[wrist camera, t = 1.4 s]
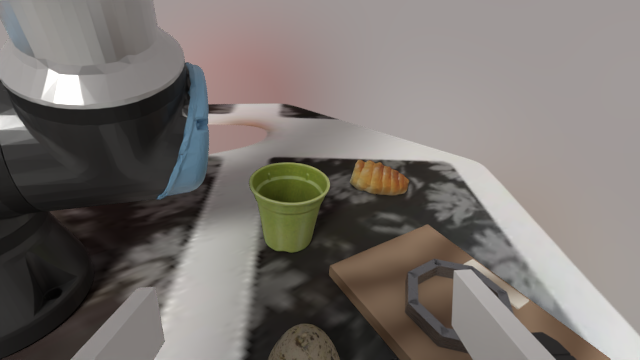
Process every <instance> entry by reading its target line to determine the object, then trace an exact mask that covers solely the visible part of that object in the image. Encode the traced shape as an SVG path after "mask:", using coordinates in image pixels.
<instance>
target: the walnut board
mask: <svg viewBox="0 0 640 360" xmlns="http://www.w3.org/2000/svg"><path fill="white" fill-rule="evenodd" d="M433 259H438V260H443V261H449V262H454V263H459V264H464V265H469V266H473V267H474V268H476V269H477V270H478V271H480V272H481V273H482V274H484V275H485V276H486V277H488V278H489V279H490V280H492V281H493V282H494V283H495V284H497V285H498V286H499V287H501V288H502V289H503V290H505V291H506V292H507V294H508V297H509V300H510V303H511V306H512V310H513V313H514V316H515V317H516V318H517V319H518V320H519V321H520V322H521V323H522V324H523V325H524V326H525V327H526V328H527V329H528V330H529V332H530V333H534V332H543V333H545V334H547V335H548V336H550V337H552V338H553V339H555V340H557V341H558V342H559V343H560V344H561V345H562V346H563V347H564V348H565V349H567V350H568V351H569V352H570V354H571V356H574V357H575V358H576V359H577V360H611V359H610V358H609V357H607V356H606V355H605V354H603V353H602V352H600V351H599V350H598V349H596V348H595V347H594V346H592V345H591V344H590V343H588V342H587V341H585V340H584V339H583V338H581V337H580V336H579V335H577V334H576V333H575V332H573V331H572V330H571V329H569V328H568V327H566V326H565V325H564V324H562V323H561V322H560V321H558V320H557V319H556V318H554V317H553V316H551V315H550V314H549V313H547V312H546V311H545V310H543V309H542V308H541V307H539V306H538V305H536V304H535V303H534V302H532V301H531V300H530V299H528V298H527V297H526V296H524V295H523V294H522V293H520V292H519V291H517V290H516V289H515V288H513V287H512V286H511V285H509V284H508V283H507V282H505V281H504V280H502V279H501V278H500V277H498V276H497V275H496V274H494V273H493V272H492V271H490V270H489V269H488V268H486V267H485V266H483V265H482V264H481V263H479V262H478V261H477V260H475V259H474V258H473V257H471V256H470V255H468V254H467V253H466V252H464V251H463V250H462V249H460V248H459V247H458V246H456V245H455V244H453V243H452V242H451V241H449V240H448V239H447V238H445V237H444V236H443V235H441V234H440V233H439V232H437V231H436V230H434V229H433V228H432V227H430V226H429V225H428V224H427V225H425V226H423V227H420V228H418V229H415V230H413V231H411V232H408V233H406V234H404V235H401V236H399V237H396V238H394V239H392V240H389V241H387V242H385V243H382V244H380V245H378V246H375V247H373V248H370V249H368V250H366V251H363V252H361V253H359V254H356V255H354V256H351V257H349V258H347V259H344V260H342V261H340V262H337V263H335V264H333V265H330V269H329V276H330V277H331V278H332V279H333V281H334V282H335V283H336V284H337V285H338V287H339V288H340V289H341V290H342V291H343V292H344V294H345V295H346V296H347V297H348V298H349V300H350V301H351V302H352V303H353V304H354V306H355V307H356V308H357V309H358V310H359V312H360V313H361V314H362V315H363V316H364V318H365V319H366V320H367V321H368V322H369V323H370V325H371V326H372V327H373V328H374V329H375V331H376V332H377V333H378V334H379V335H380V337H381V338H382V339H383V340H384V341H385V343H386V344H387V345H388V346H389V347H390V348H391V350H392V351H393V352H394V353H395V354H396V356H397V357H398V358H399V359H400V360H473V359H472V358H471V356H470V354H468V353H464V352H459V351H455V350H451V349H447V348H442V347H438V346H437V345H436V344H435V343H434V342H433V341H432V340H431V339H430V338H429V337H428V336H427V335H426V334H425V333H424V332H423V331H422V330H421V329H420V328H419V327H418V326H417V325H416V323H415V322H414V321H413V320H412V319H411V318H410V317H409V316H408V315H407V314H406V313H405V281H406V277H407V274H408V272H409V271H411V270H413V269H415V268H417V267H419V266H421V265H423V264H425V263H427V262H429V261H431V260H433ZM418 301H419V302H420V303H421V304H422V305H423V306H424V307H425V308H426V309H427V310H428V311H429V312H430V313H431V314H432V315H433V316H434V317H435V318H436V319H437V320H438V321H439V322H440V323H441V324H442V325H443V326H444V327H445V328H450V329H453V327H452V301H453V279H451V278H446V277H441V276H436V275H435V276H434V277H432V278H430V279H428V280H426V281H424V282H422V283H421V284H419V285H418Z"/></svg>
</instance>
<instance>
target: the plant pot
mask: <svg viewBox="0 0 640 360" xmlns="http://www.w3.org/2000/svg"><path fill="white" fill-rule="evenodd" d="M249 186H250V189H251V191H252V192H253V194H254V196H255V199H256V201H257V202H258V207H259V212H260V217H261V222H262V228H263V234H264V239H265V242H266V244H267V245H268V246H269V247H270V248H272V249H274V250H276V251H287V252H290V253H293V252H298V251H300V250H303V249H304V248H306V247H307V246H308V245H309V244H310V242H311V239H312V235H313V231H314V227H315V223H316V219H317V215H318V212H319V208H320V205H321V203H322V201H323V200H324V197H325V195H326V194H327V193H328V191H329V188H330V181H329V179H328V177H327V176H326V175H325V174H324V173H323V172H321V171H320V170H318V169H316V168H314V167H312V166H308V165H304V164H300V163H290V162H284V163H275V164H270V165H266V166H263V167H261V168H260V169H258V170H256V171H255V172H254V173H253V174H252V175H251V177H250V180H249Z"/></svg>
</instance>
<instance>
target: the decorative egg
mask: <svg viewBox="0 0 640 360" xmlns="http://www.w3.org/2000/svg"><path fill="white" fill-rule="evenodd" d="M268 360H340V358H339V356H338V353H337V351H336V348H335V346H334V344H333V343H332V341H331V340H330V338H329V337H328V336H327V335H326V333H325V332H324V331H322V330H321V329H320V328H318V327H317V326H314V325H311V324H299V325H296V326H294V327H292V328H290V329H289V330H288V331H286V332H285V333H284V334H283V335H282V336H281V337H280V339H279V340H278V341H277V343H276V344H275V346H274V347H273V349H272V351H271V353H270V355H269V357H268Z"/></svg>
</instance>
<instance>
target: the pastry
mask: <svg viewBox="0 0 640 360" xmlns="http://www.w3.org/2000/svg"><path fill="white" fill-rule="evenodd" d="M350 183H351V184H352V185H353V186H354V187H355V188H356V189H358V190H360V191H362V190H364V191H367V192H368V193H373V194H380V195H397V194H403V193H405V192H406V191H407V188H408V183H409V180H408V179H407V178H406V177H405V176H404V175H402V174H400V173H399V172H398V171H396V170H393V169H391V168H390V167H387V166H384V165H382V163H380V162H379V163H374V162H373V161H371V160H369V161H367V162H363V161H362V160H358V161H357V163H356V164H355V168H354V171H353V175H352V178H351V180H350Z"/></svg>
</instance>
